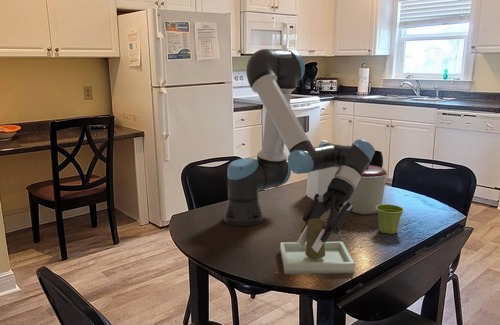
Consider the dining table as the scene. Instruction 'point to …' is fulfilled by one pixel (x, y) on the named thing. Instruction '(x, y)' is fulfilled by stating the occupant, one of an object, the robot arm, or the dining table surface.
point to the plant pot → (389, 217)
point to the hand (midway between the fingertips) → (307, 247)
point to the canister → (369, 191)
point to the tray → (316, 259)
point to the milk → (319, 179)
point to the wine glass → (377, 159)
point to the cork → (314, 238)
